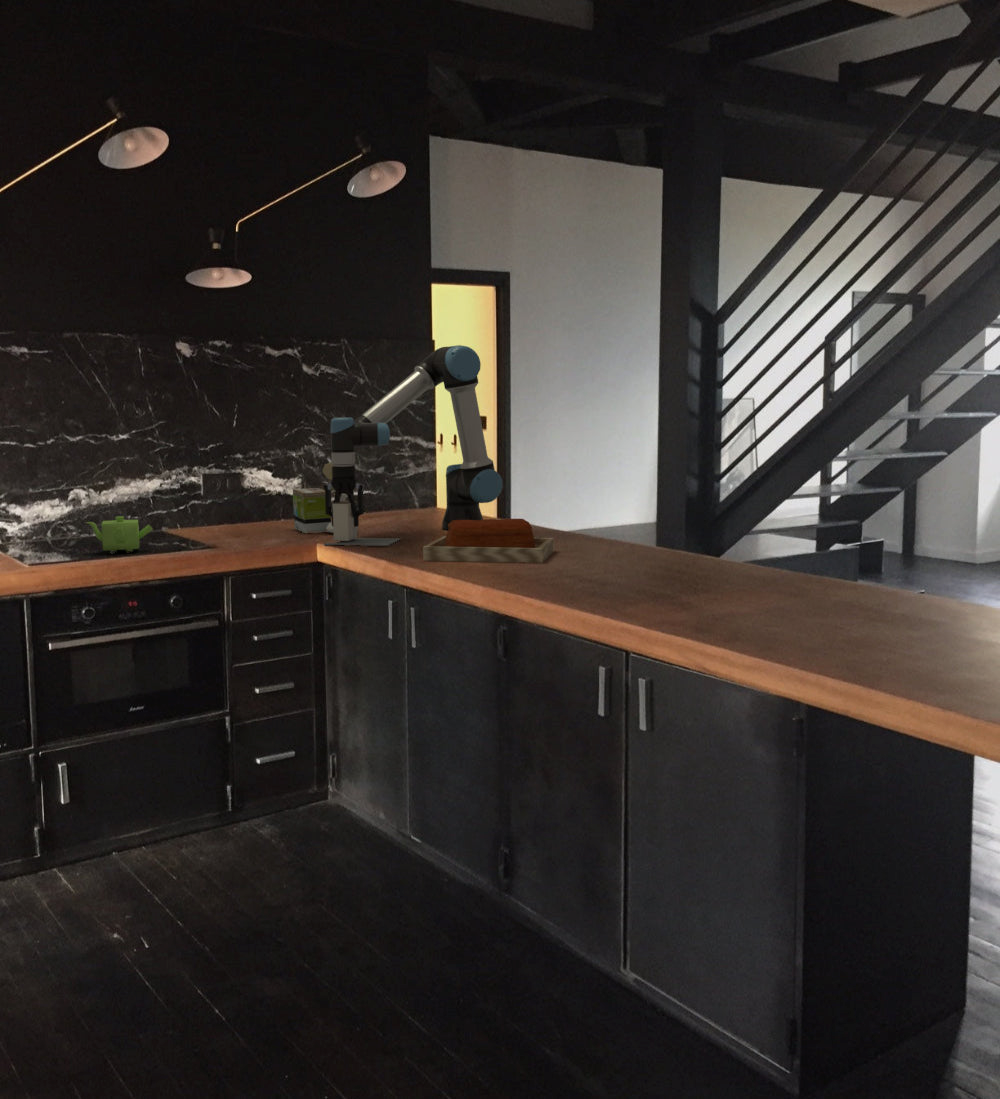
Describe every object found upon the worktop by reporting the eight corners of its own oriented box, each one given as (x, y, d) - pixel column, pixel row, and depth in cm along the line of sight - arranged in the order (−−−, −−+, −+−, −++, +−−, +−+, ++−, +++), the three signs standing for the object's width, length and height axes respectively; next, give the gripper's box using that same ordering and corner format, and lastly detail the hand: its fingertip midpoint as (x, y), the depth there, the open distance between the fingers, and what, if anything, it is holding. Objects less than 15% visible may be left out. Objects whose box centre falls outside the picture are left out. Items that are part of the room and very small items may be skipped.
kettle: (86, 553, 355) (84, 517, 353) (120, 548, 367) (118, 513, 366) (122, 556, 348) (120, 519, 347) (155, 550, 361) (153, 515, 359)
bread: (538, 557, 336) (538, 521, 335) (448, 560, 332) (447, 523, 331) (529, 550, 351) (529, 515, 350) (443, 552, 348) (442, 518, 346)
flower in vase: (364, 532, 402) (363, 461, 398) (347, 536, 392) (345, 463, 388) (333, 530, 407) (331, 460, 404) (315, 534, 397) (313, 462, 394)
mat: (400, 540, 379) (400, 538, 379) (387, 546, 363) (387, 544, 363) (340, 539, 383) (340, 537, 383) (324, 545, 367) (324, 543, 367)
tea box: (293, 529, 411) (291, 488, 409) (320, 528, 415) (319, 487, 413) (304, 534, 398) (303, 492, 396) (332, 532, 402) (331, 490, 400)
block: (357, 537, 378) (356, 500, 376) (348, 540, 369) (347, 503, 368) (342, 537, 379) (341, 500, 377) (333, 540, 370) (332, 503, 369)
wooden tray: (553, 554, 350) (553, 538, 350) (541, 566, 327) (541, 548, 326) (442, 552, 357) (442, 536, 356) (423, 563, 334) (423, 546, 333)
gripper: (373, 464, 373) (375, 535, 376) (320, 464, 376) (323, 534, 379) (366, 466, 365) (368, 538, 369) (312, 466, 369) (315, 537, 372)
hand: (345, 536), depth 374 cm, fingers closed on block, 5 cm apart
